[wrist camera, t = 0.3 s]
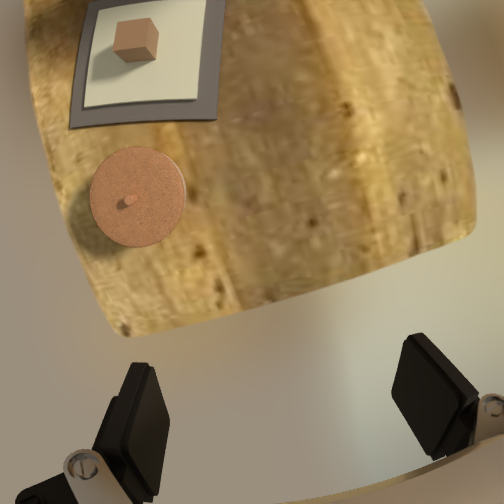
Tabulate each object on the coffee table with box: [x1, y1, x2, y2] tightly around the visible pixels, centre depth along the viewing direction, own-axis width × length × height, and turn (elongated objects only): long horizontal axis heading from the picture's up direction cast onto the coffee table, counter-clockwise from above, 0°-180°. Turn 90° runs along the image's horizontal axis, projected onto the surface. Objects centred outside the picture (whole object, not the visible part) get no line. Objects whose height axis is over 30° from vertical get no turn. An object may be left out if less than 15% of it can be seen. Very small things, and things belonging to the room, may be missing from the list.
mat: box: [70, 0, 226, 128], centre depth 31 cm, size 20×20×1 cm
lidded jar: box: [89, 147, 186, 247], centre depth 33 cm, size 11×11×9 cm
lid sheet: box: [84, 0, 206, 108], centre depth 28 cm, size 15×15×6 cm
